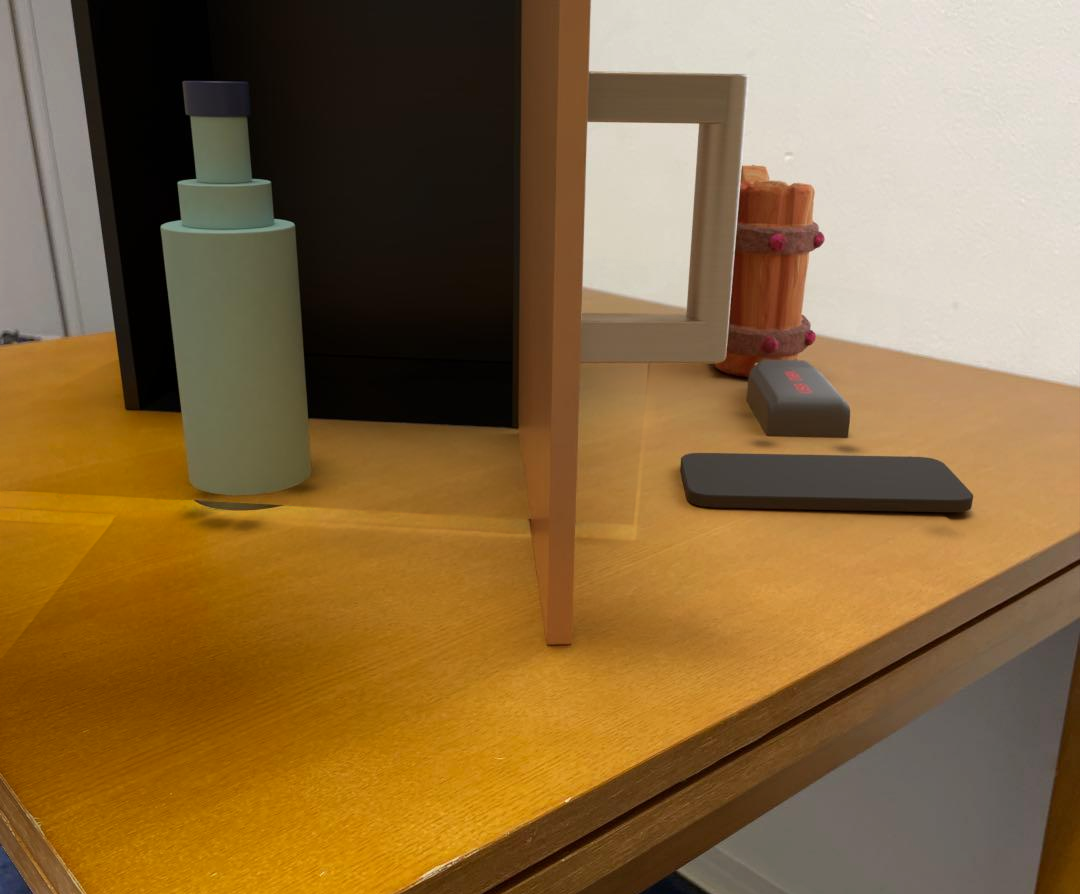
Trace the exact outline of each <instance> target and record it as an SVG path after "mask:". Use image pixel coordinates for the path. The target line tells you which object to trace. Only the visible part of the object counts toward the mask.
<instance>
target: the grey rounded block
mask: <svg viewBox="0 0 1080 894" xmlns="http://www.w3.org/2000/svg"><path fill="white" fill-rule="evenodd" d="M746 390H747V391H746V402H747V404H748V405H749V408H750V410H751V411H752V413H753V415H754V417H755V419H756V420H757V422H758V424H759V426H760V428H761V429H762V431H763V433H764V434H765V436H766V437H784V438H785V437H788V438H789V437H790V438H827V439H828V438H831V439H832V438H834V439H836V438H838V439H839V438H840V439H848V438H849V431H850V423H851V408H850V405H849V403H848V402H847V400H846V399H844V397H843V395H841V394H840V393H839V391H837V388H835V387H834V386H833V384H832V383H831V382H830V381H829V380H828V379H827V378H826V377H825V375H824V374H823V373H822V372H820V371H819V370H818V369H817V368H816V367H814V365H812V364H811V363H809V362H808V361H807V360H804V359H803V360H800V359H797V360H761V361H760V362H758V363H755V366H754V367H753V368H752V370H751V371H750V372H749V378H747V389H746Z"/></svg>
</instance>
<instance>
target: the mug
mask: <svg viewBox="0 0 1080 894" xmlns="http://www.w3.org/2000/svg"><path fill="white" fill-rule="evenodd" d="M815 193H816V190H815V188H814V187H813V186H812V184H808V183H801V182H793V183H791V184H789V183H787V182H786V181H784V180H783V181H782V180H770V174H769V172H768V169H767V167H766V166H764V165H755V164H751V165H742V168H741V180H740V192H739V205H738V217H737V229H736V241H735V254H734V266H733V278H732V291H731V303H730V315H729V327H728V340H727V352H726V359H725V361H723V362H720V363H713V365H714V366H715V368H716V369H717V370H719V372H721V373H725V374H727V375H729V376H730V375H731V376H735V377H744V378H747V379H748V378H749V372H750V371H751V370H752V368H753V367H754V366H755V363H758V362H760V361H761V360H798V354H800V353H803V352H804V351H805V350H806V349H807V348H808V347H810V346H812V345H813V344H814V342H815V341H816V337H817V336H816V332H814V330H812V329H811V325H812V324H811V322H810V320H809V319H808V318H807V317H806V316H805V315H804V314H803V307H804V297H805V289H806V281H807V275H808V274H807V273H808V268H809V261H810V260H809V259H810V253H811V252H813V251H815V250H816V249H818V248H820V247H822V245H823V244H824V242H825V235H824V234H823V232H822V231H820V227H819V225H818V223H817V222H815V221H814V220H813V215H814V204H815V203H814V200H815ZM733 374H734V375H733Z"/></svg>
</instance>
